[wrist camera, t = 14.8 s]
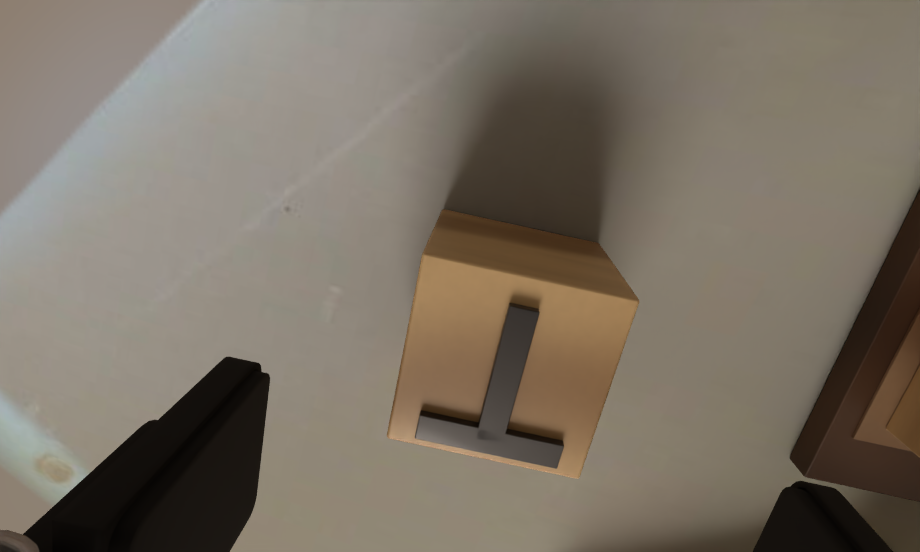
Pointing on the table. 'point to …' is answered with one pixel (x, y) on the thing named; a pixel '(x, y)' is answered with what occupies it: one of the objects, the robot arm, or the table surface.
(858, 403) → the dark brown wooden board
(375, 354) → the table surface
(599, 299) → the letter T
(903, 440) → the letter I
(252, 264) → the table surface
